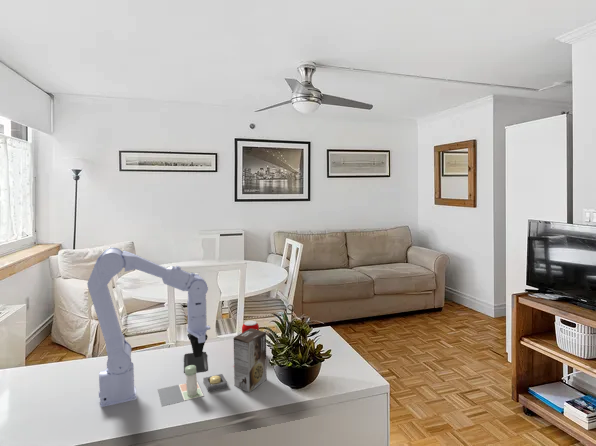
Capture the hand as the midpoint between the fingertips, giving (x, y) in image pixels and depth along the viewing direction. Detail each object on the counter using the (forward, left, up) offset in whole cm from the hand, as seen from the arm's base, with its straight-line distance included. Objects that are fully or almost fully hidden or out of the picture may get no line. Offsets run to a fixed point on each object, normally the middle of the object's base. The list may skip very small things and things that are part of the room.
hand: (197, 356), depth 122 cm
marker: (-3, -7, -8) cm, 11 cm away
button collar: (+4, -5, -9) cm, 11 cm away
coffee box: (+15, -8, -9) cm, 19 cm away
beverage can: (+22, +12, -9) cm, 27 cm away
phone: (+2, +13, -9) cm, 16 cm away
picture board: (-6, -5, -9) cm, 12 cm away
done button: (+4, -5, -9) cm, 11 cm away
